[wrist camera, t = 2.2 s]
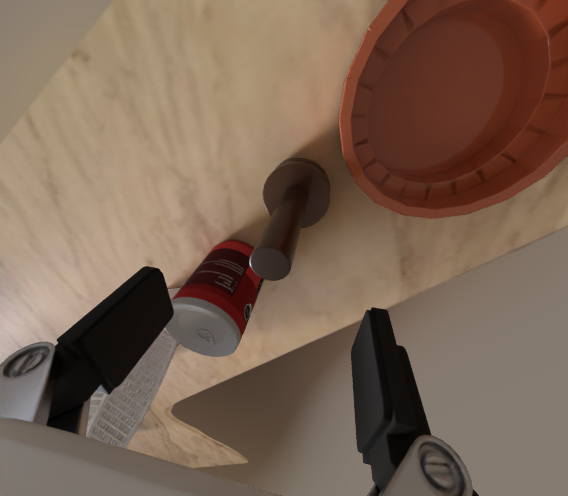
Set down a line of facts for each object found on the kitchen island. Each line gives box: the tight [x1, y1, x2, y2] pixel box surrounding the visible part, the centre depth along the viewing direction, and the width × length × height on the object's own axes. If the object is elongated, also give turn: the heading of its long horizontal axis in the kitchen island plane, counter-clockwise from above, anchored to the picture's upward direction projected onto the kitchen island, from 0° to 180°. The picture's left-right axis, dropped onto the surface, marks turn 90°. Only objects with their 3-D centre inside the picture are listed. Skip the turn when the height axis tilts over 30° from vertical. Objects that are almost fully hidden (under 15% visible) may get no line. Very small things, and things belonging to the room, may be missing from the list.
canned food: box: [165, 240, 264, 357], centre depth 26 cm, size 8×8×11 cm
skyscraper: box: [86, 288, 180, 448], centre depth 25 cm, size 8×8×28 cm
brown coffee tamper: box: [250, 158, 330, 281], centre depth 18 cm, size 6×6×13 cm
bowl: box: [338, 0, 568, 219], centre depth 16 cm, size 15×15×5 cm
